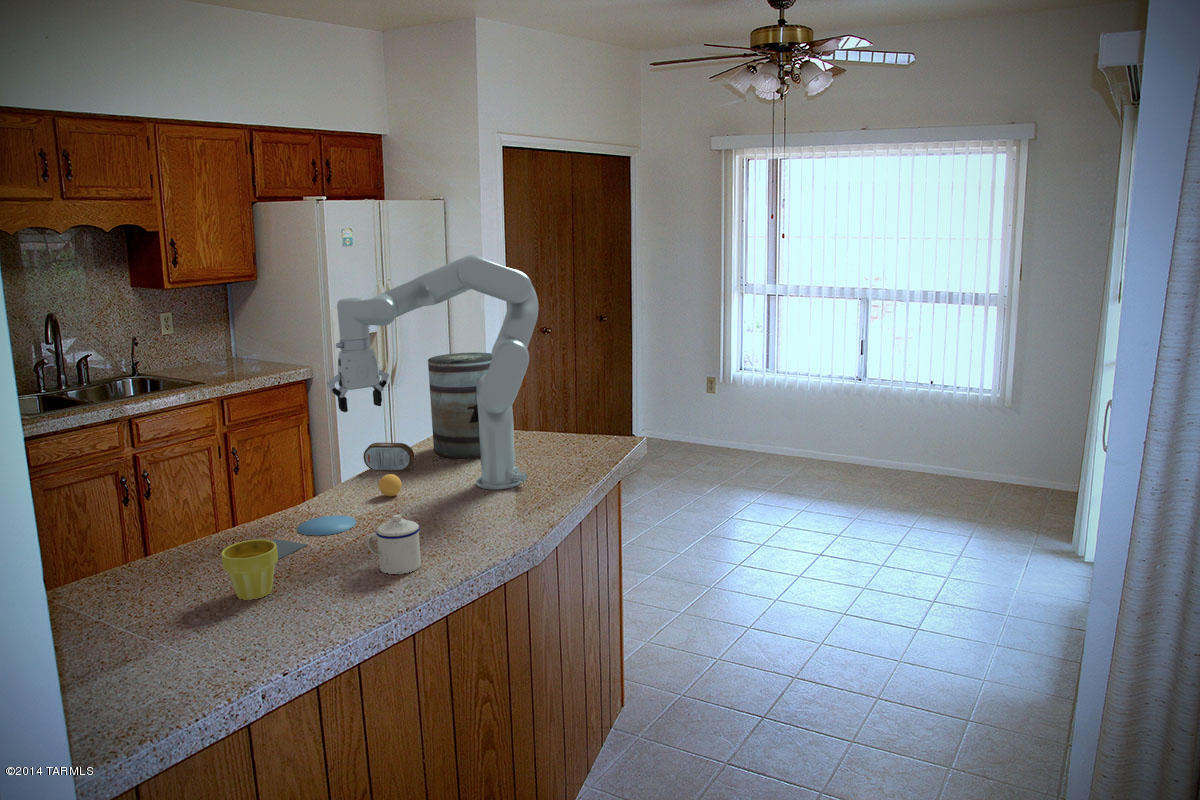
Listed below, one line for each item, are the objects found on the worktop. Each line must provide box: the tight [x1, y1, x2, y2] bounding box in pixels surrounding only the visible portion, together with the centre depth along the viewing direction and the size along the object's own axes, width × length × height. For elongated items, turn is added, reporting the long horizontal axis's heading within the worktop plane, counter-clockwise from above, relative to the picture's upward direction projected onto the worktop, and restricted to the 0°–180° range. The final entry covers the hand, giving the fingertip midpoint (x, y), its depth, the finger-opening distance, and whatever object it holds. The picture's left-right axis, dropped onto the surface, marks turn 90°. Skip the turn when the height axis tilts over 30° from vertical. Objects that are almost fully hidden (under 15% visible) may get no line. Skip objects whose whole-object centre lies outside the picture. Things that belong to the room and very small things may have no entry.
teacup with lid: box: [366, 514, 422, 575], centre depth 189 cm, size 12×9×12 cm
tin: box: [363, 442, 415, 472], centre depth 262 cm, size 15×3×8 cm, turn 84°
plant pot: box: [221, 538, 279, 601], centre depth 177 cm, size 10×10×10 cm
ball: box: [378, 473, 402, 497], centre depth 238 cm, size 6×6×6 cm
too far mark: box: [271, 538, 309, 560], centre depth 202 cm, size 10×10×1 cm
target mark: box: [296, 515, 357, 537], centre depth 217 cm, size 14×14×1 cm
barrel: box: [427, 352, 492, 460], centre depth 281 cm, size 22×22×30 cm
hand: (361, 408), depth 236 cm, fingers open, 9 cm apart
